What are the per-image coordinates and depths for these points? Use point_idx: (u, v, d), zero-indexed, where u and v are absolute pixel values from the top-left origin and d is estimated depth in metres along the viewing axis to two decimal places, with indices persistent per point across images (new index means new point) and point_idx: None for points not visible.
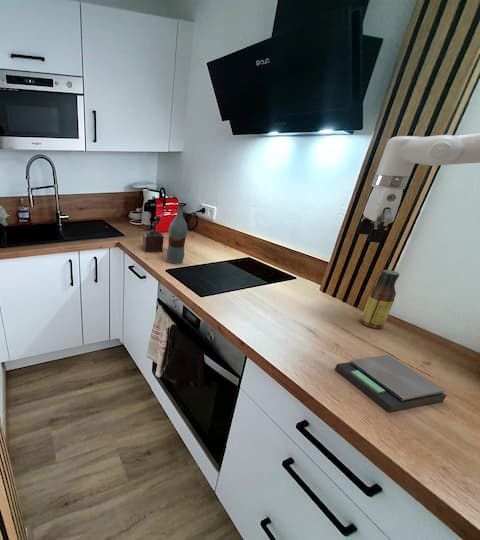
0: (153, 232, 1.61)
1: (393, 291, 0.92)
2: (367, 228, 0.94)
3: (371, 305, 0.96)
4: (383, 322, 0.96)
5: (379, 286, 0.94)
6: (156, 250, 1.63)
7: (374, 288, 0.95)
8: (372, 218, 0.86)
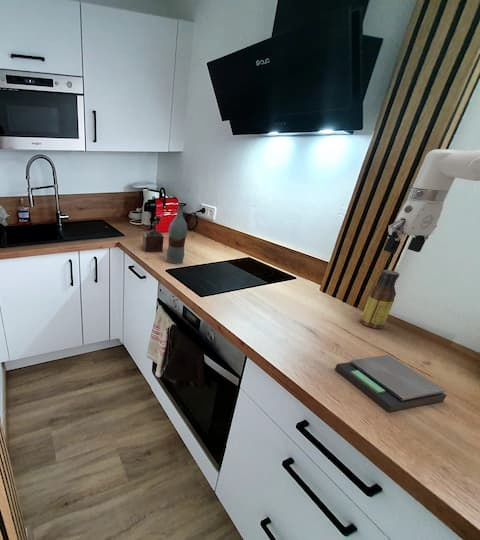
0: (153, 232, 1.61)
1: (393, 291, 0.92)
2: (417, 244, 0.89)
3: (371, 305, 0.96)
4: (383, 322, 0.96)
5: (379, 286, 0.94)
6: (156, 250, 1.63)
7: (374, 288, 0.95)
8: None
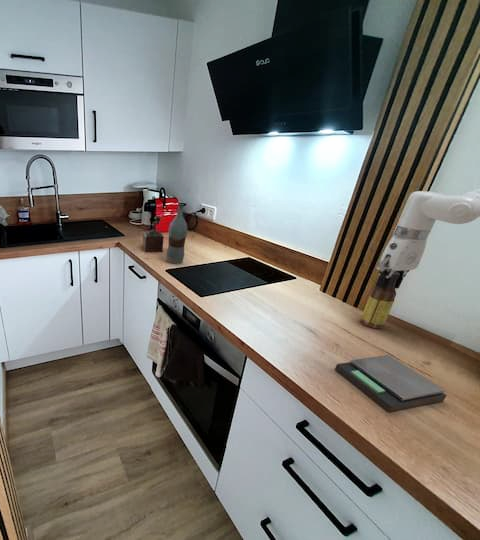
0: (153, 232, 1.61)
1: (393, 291, 0.92)
2: None
3: (372, 305, 0.96)
4: (383, 322, 0.96)
5: None
6: (156, 250, 1.63)
7: (374, 288, 0.95)
8: None
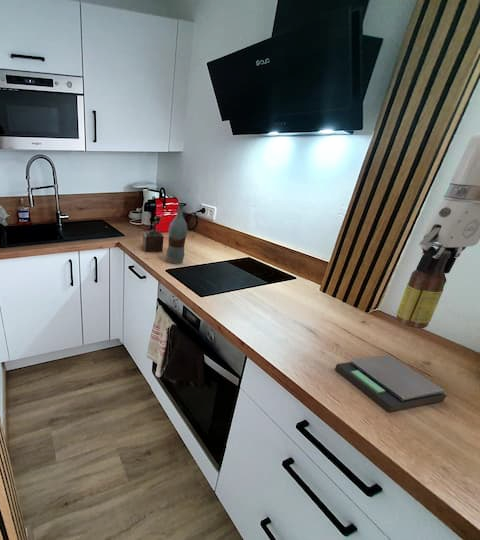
0: (153, 232, 1.61)
1: (443, 277, 0.67)
2: None
3: (411, 297, 0.71)
4: (428, 319, 0.70)
5: None
6: (156, 250, 1.63)
7: (414, 274, 0.70)
8: None
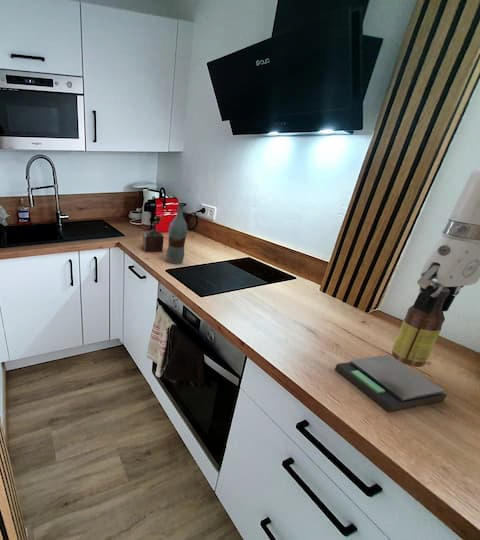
0: (153, 232, 1.61)
1: (441, 315, 0.63)
2: None
3: (408, 335, 0.67)
4: (426, 358, 0.67)
5: None
6: (156, 250, 1.63)
7: (411, 310, 0.67)
8: None
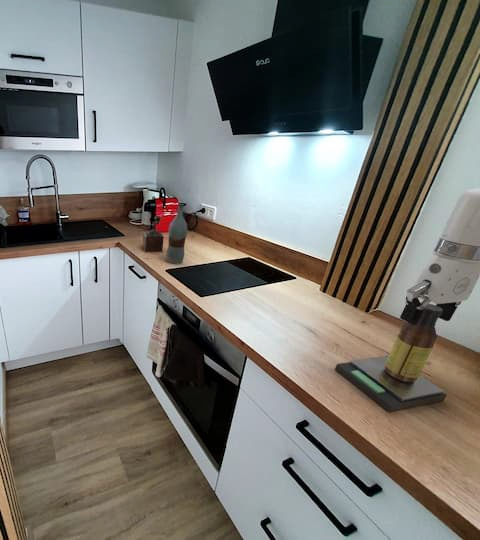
0: (153, 232, 1.61)
1: (433, 333, 0.65)
2: (445, 311, 0.66)
3: (401, 351, 0.69)
4: (417, 374, 0.69)
5: (413, 325, 0.67)
6: (156, 250, 1.63)
7: (405, 327, 0.69)
8: None
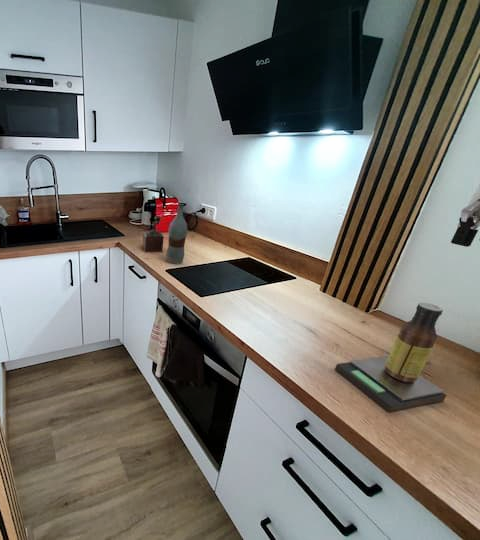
0: (153, 232, 1.61)
1: (433, 333, 0.65)
2: None
3: (401, 351, 0.69)
4: (417, 374, 0.69)
5: (412, 325, 0.67)
6: (156, 250, 1.63)
7: (405, 327, 0.69)
8: None
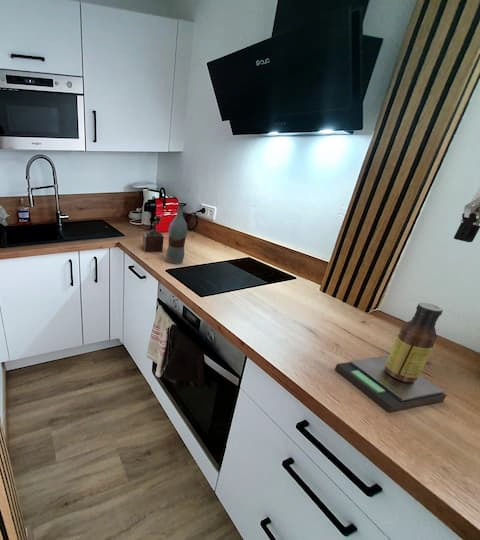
0: (153, 232, 1.61)
1: (433, 333, 0.65)
2: None
3: (401, 351, 0.69)
4: (417, 374, 0.69)
5: (412, 325, 0.67)
6: (156, 250, 1.63)
7: (405, 327, 0.69)
8: None
